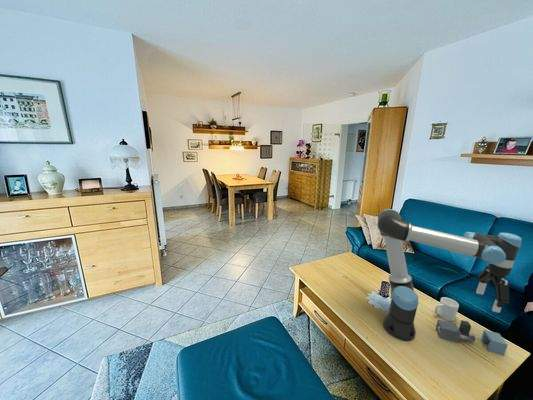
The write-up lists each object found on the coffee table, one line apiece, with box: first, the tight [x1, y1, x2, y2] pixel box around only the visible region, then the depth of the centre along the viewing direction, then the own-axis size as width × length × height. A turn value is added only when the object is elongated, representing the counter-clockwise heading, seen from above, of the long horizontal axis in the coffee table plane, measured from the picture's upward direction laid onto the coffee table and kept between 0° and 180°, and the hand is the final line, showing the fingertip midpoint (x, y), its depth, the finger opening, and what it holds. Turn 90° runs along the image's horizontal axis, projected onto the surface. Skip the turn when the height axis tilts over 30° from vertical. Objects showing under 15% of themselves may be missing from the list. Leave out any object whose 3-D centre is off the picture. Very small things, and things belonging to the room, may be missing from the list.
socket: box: [480, 329, 509, 356], centre depth 110 cm, size 6×7×6 cm
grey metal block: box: [435, 319, 461, 344], centre depth 116 cm, size 8×6×6 cm
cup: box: [434, 296, 460, 322], centre depth 129 cm, size 8×12×10 cm
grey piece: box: [436, 319, 476, 343], centre depth 115 cm, size 15×3×9 cm, turn 69°
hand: (487, 302), depth 110 cm, fingers open, 13 cm apart
